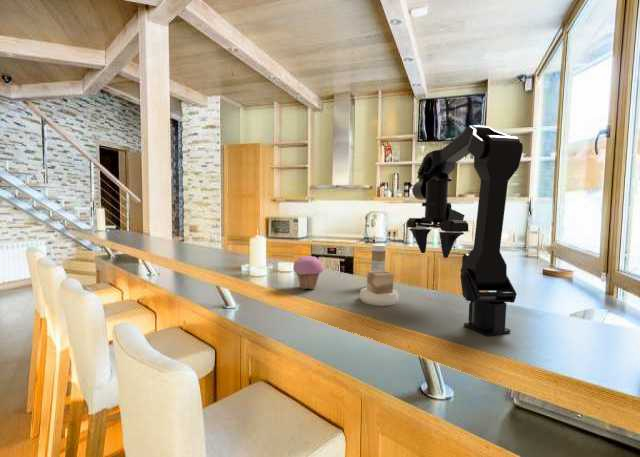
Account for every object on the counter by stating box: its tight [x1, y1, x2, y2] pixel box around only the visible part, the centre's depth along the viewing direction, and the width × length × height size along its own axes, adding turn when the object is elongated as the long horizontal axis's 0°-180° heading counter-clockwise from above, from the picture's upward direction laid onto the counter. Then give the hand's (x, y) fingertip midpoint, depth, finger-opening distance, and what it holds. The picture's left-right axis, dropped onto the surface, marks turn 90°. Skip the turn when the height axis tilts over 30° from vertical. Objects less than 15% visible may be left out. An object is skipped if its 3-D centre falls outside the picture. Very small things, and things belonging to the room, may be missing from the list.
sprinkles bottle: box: [370, 243, 387, 272], centre depth 107 cm, size 5×5×13 cm
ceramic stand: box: [360, 286, 399, 307], centre depth 91 cm, size 10×10×2 cm
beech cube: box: [366, 270, 394, 294], centre depth 91 cm, size 5×5×5 cm
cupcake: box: [292, 255, 324, 290], centre depth 102 cm, size 9×9×10 cm
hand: (433, 255), depth 94 cm, fingers open, 9 cm apart
